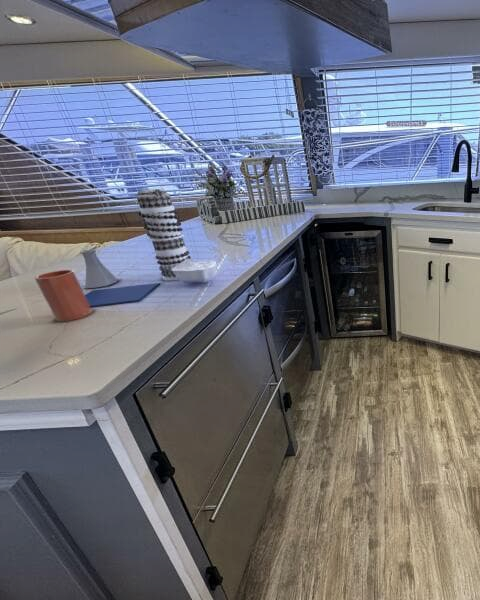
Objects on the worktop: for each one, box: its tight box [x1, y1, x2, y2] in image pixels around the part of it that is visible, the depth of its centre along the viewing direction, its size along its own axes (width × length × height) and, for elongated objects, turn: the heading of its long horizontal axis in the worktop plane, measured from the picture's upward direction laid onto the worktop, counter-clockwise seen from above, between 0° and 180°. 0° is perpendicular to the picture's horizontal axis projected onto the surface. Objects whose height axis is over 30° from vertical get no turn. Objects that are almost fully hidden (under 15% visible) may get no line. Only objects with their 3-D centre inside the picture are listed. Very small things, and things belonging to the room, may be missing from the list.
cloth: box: [85, 282, 160, 308], centre depth 84 cm, size 16×13×1 cm
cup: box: [33, 269, 93, 323], centre depth 71 cm, size 6×6×10 cm
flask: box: [79, 249, 118, 289], centre depth 91 cm, size 7×7×10 cm
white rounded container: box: [171, 258, 218, 284], centre depth 90 cm, size 10×12×7 cm
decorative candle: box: [135, 188, 192, 282], centre depth 93 cm, size 9×9×25 cm
